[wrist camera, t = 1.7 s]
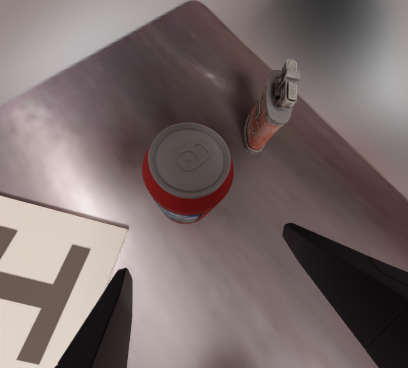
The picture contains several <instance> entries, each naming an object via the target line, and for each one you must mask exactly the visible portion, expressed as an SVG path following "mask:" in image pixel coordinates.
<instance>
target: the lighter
mask: <svg viewBox="0 0 408 368" xmlns="http://www.w3.org/2000/svg"><path fill="white" fill-rule="evenodd" d="M300 77H301V72H298V71H297V64H296V62H295V61H293V60H287V61H286V63H285V65H284V66H283V68H282V71H280V70H274V71H272V72H271V74H270V76H269V78H268V80H267V83H266V86H265V88H264V90H263V92H262V94H261V95H260V97H259V99H258V101H257V103H256V104H255V106H254V108H253V109H252V110H251V111H250V113H249V115H248V117H247V120H246V123H245V128H244V147H245V149H246V151H247V152H249V153H251V154H258V153H259V152H260V151H261V150H262V149H263V146H264V145H265V144H266V142H267V141H268V140H269V139H270V138H271V137H272V136H273V134H274V133H275V132H276V131H277V130H278V129H279V128H280V127H281V126H283V125H284V124H286V122H287V121H288V120H289V119H290V116H291V112H292V108H293V105H294V104H295V102H296V101H297V84H298V81H299V80H300Z"/></svg>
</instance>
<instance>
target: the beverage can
mask: <svg viewBox="0 0 408 368" xmlns="http://www.w3.org/2000/svg"><path fill="white" fill-rule="evenodd" d="M142 173H143V179H144V182H145V185H146V187H147V189H148V191H149V192H150V194H151V196H152V197H153V199H154V200H155V202H156V203H157V205H158V206H159V207H160V209H161V210H162V211H163V213H164V214H165V215H166V216H167V217H168V218H169V219H171V220H172V221H174V222H177V223H181V224H190V223H194V222H197V221H199V220H200V219H202V218H203V217H204V216H205V215H207V214H208V213H209V212H210V211H211V210H212V209H213V208H214V207H215V206H216V205H217V204H218V203H219V202H220V201H221V200H222V199H223V198H224V197H225V195H226V194H227V192H228V191H229V189H230V187H231V184H232V180H233V163H232V159H231V157H230V152H229V149H228V147H227V145H226V143H225V141H224V140H223V139H222V137H221V136H220V135H219V134H218V133H216V132H215V131H214V130H212V129H211V128H209V127H207V126H204V125H202V124H198V123H191V122H185V123H178V124H174V125H171V126H169V127H167V128H165V129H164V130H162V131H161V132H160V133H159V134H158V135H157V136H156V137H155V139H154V140H153V142H152V144H151V146H150V147H149V149H148V150H147V152H146V154H145V157H144V160H143V167H142Z"/></svg>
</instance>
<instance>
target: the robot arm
mask: <svg viewBox="0 0 408 368" xmlns="http://www.w3.org/2000/svg"><path fill="white" fill-rule="evenodd" d="M283 238H284V240H285V241H286V243H287V244H288V246H289V248H290V249H291V251H292V252H293V254H294V256H295V257H296V259H297V260H298V262H299V263H300V264H301V266H302V267H303V268H304V270H305V271H306V272H307V274H308V275H309V276H310V278H311V279H312V280H313V282H314V283H315V284H316V286H317V287H318V288H319V289H320V291H321V292H322V293H323V295H324V296H325V297H326V299H327V300H328V301H329V303H330V304H331V305H332V307H333V308H334V309H335V311H336V312H337V313H338V315H339V316H340V317H341V318H342V320H343V321H344V322H345V324H346V325H347V326H348V328H349V329H350V330H351V332H352V333H353V334H354V336H355V337H356V338H357V340H358V341H359V342H360V344H361V345H362V346H363V348H364V349H365V350H366V352H367V353H368V354H369V356H370V357H371V358H372V360H373V361H374V362H375V364H376V365H377V366H378V367H379V368H408V272H406V271H403V270H401V269H398V268H396V267H393V266H391V265H388V264H386V263H384V262H381V261H379V260H376V259H374V258H372V257H370V256H366V255H365V254H363V253H360V252H358V251H356V250H353V249H351V248H349V247H346V246H344V245H342V244H340V243H337V242H335V241H333V240H330V239H328V238H326V237H323V236H321V235H319V234H317V233H314V232H312V231H310V230H307V229H305V228H303V227H300V226H298V225H296V224H294V223H288V224H285V225H284V229H283ZM131 324H132V277H131V275H130V273H129V270H128V269H127V268H123V269H120V270H118V271H117V272H116V274H115V275H114V277H113V278H112V280H111V281H110V283H109V284H108V286H107V287H106V289H105V291H104V292H103V294H102V295H101V297H100V298H99V300H98V301H97V303H96V304H95V306H94V307H93V309H92V311H91V312H90V314H89V315H88V317H87V318H86V320H85V321H84V323H83V324H82V326H81V328H80V329H79V331H78V332H77V334H76V335H75V337H74V338H73V340H72V341H71V343H70V344H69V346H68V348H67V349H66V351H65V352H64V354H63V355H62V357H61V358H60V360H59V361H58V365H56V366H55V367H54V368H127V360H128V351H129V342H130V333H131Z"/></svg>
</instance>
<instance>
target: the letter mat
mask: <svg viewBox="0 0 408 368" xmlns="http://www.w3.org/2000/svg"><path fill="white" fill-rule="evenodd" d="M128 230H129V229H125V228H121V227H117V226H113V225H110V224H106V223H102V222H98V221H94V220H91V219H87V218H83V217H79V216H75V215H72V214H68V213H64V212H60V211H56V210H53V209H49V208H45V207H41V206H37V205H34V204H30V203H26V202H22V201H18V200H15V199H11V198H7V197H3V196H0V368H54V367H55V366H56V365H58V361H59V360H60V358H61V357H62V355H63V354H64V352H65V351H66V349H67V348H68V346H69V344H70V343H71V341H72V340H73V338H74V337H75V335H76V334H77V332H78V331H79V329H80V328H81V326H82V324H83V323H84V321H85V320H86V318H87V317H88V315H89V314H90V312H91V311H92V309H93V307H94V306H95V304H96V303H97V301H98V300H99V298H100V297H101V295H102V294H103V292H104V291H105V289H106V287H107V284H108V282H109V279H110V277H111V274H112V272H113V269H114V266H115V264H116V261H117V259H118V256H119V254H120V251H121V248H122V246H123V243H124V241H125V238H126V236H127V233H128Z"/></svg>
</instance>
